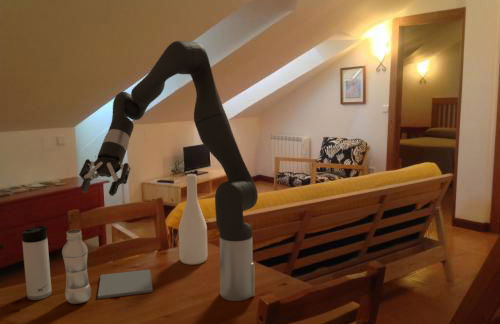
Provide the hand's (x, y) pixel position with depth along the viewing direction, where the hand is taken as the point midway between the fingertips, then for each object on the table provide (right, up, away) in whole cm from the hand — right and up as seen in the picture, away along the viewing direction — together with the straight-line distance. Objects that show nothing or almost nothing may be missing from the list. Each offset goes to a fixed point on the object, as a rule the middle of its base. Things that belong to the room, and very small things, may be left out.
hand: (97, 193), depth 126 cm
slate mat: (+7, -28, +3) cm, 29 cm away
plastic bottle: (-3, -30, -7) cm, 31 cm away
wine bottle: (+25, -25, +22) cm, 42 cm away
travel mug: (-15, -29, -4) cm, 33 cm away
